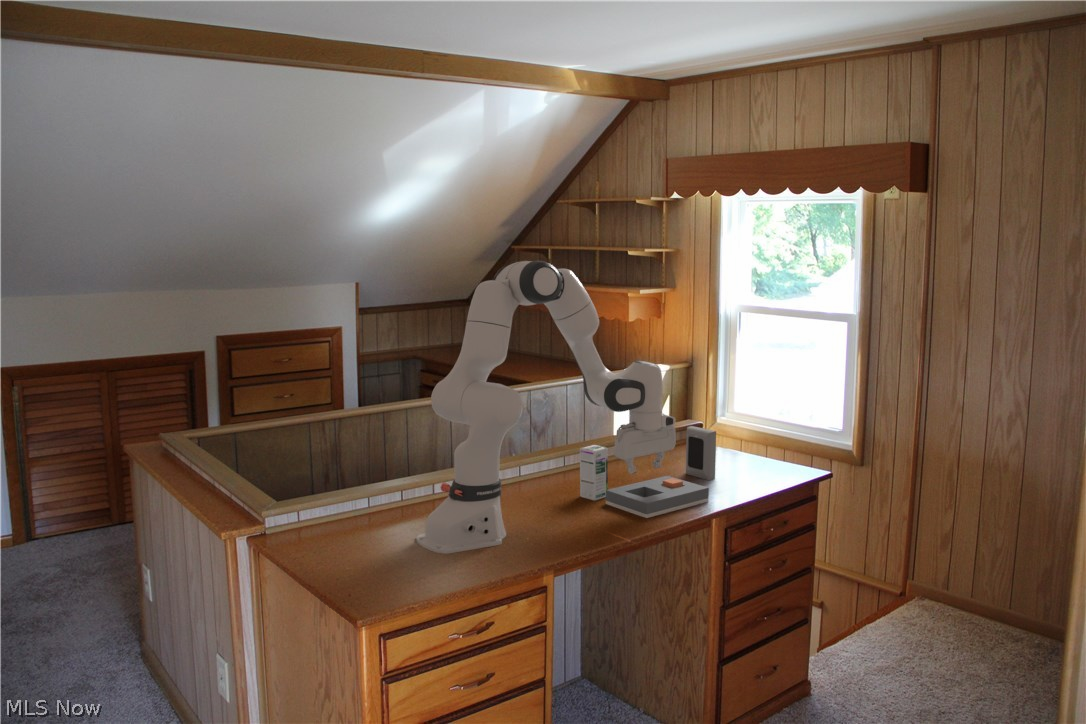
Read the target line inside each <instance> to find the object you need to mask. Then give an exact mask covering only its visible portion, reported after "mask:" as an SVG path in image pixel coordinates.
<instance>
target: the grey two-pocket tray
mask: <svg viewBox="0 0 1086 724" xmlns="http://www.w3.org/2000/svg"><path fill="white" fill-rule="evenodd" d="M672 478H673V479H677V480H680V481H683V486H682V487H677V488H669V487H666V486H663V480H668V479H672ZM709 492H710V488H709V486H705V485H700V484H697V483H695V482H694V483H693V482H691V481H687V480H683V479H680V478H676V477H673V476H670V475H664V476H660V477H656V478H652V479H647V480H642V481H639V482H634V483H630V484H626V485H621V486H617V487H613V488H608V490H606V497H605V504H606V505H608V506H610V507H613V508H617V509H619V510H622V511H625V512H627V513H631V514H633V515H636V516H639V517H643V518H645V519H649V518H652V517H655V516H660V515H663V514H668V513H671V512H674V511H679V510H682V509H687V508H690V507H693V506H697V505H701V504H704V503H709Z"/></svg>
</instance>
